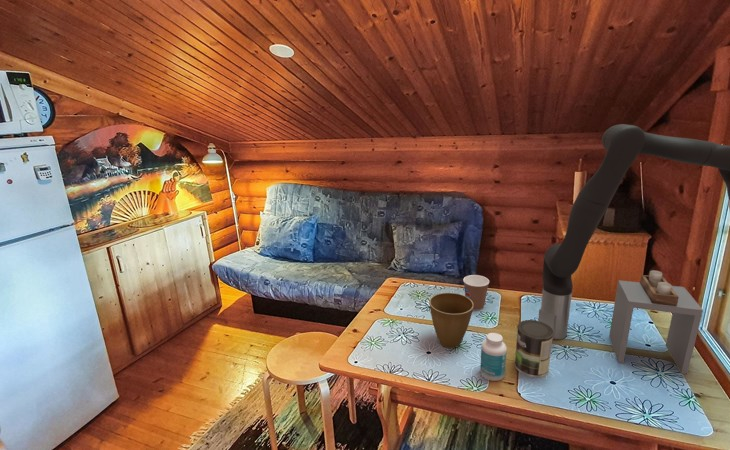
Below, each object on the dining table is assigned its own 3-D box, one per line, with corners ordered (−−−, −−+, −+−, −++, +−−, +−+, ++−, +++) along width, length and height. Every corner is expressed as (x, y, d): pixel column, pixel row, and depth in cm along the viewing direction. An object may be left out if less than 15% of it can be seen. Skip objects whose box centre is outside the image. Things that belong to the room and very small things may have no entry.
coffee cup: (460, 300, 166) (461, 274, 162) (485, 300, 165) (486, 274, 161) (464, 312, 156) (465, 286, 153) (490, 312, 155) (491, 285, 152)
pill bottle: (506, 383, 117) (509, 345, 113) (481, 381, 118) (483, 343, 114) (503, 367, 124) (505, 330, 120) (479, 365, 125) (480, 329, 121)
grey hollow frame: (609, 336, 136) (618, 280, 130) (671, 345, 130) (684, 287, 123) (617, 362, 123) (628, 301, 116) (687, 374, 117) (703, 310, 110)
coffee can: (521, 378, 118) (524, 338, 114) (509, 357, 128) (512, 320, 124) (555, 377, 118) (559, 337, 114) (541, 356, 128) (545, 319, 124)
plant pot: (433, 356, 131) (433, 314, 126) (426, 331, 145) (426, 293, 140) (477, 354, 131) (479, 312, 126) (465, 329, 145) (467, 291, 140)
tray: (639, 283, 127) (642, 268, 125) (661, 285, 125) (665, 270, 123) (652, 303, 115) (655, 286, 113) (676, 306, 113) (680, 289, 111)
